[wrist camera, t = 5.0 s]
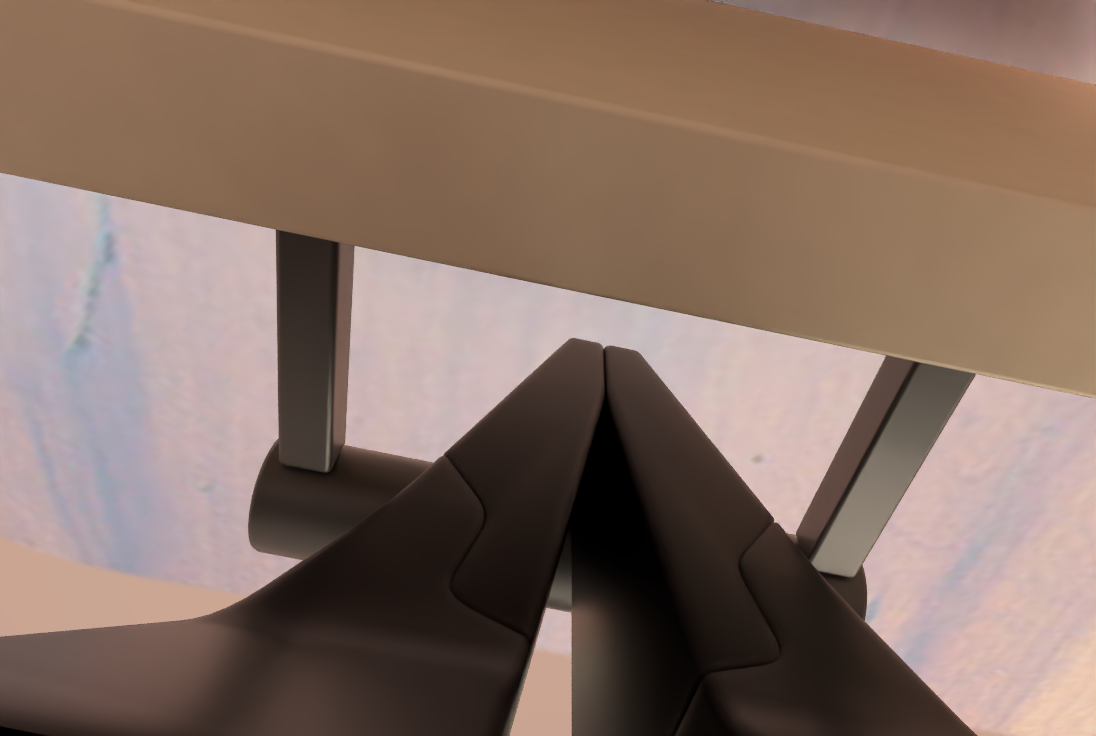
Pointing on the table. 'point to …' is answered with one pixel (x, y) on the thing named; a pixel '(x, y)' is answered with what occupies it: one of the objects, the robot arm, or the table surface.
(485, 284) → the table surface
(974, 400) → the table surface
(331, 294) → the drawer
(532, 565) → the robot arm
